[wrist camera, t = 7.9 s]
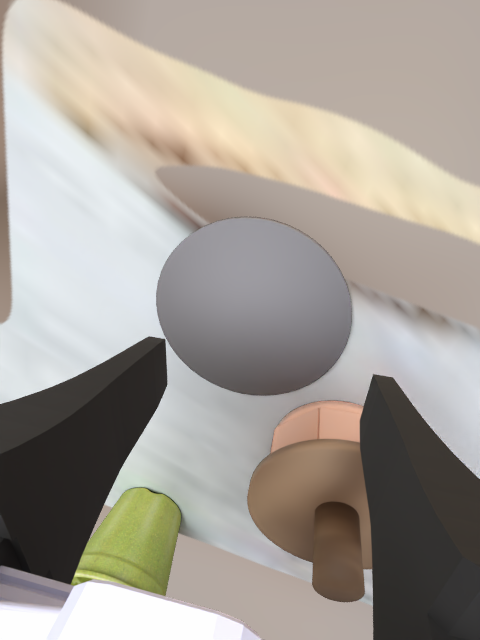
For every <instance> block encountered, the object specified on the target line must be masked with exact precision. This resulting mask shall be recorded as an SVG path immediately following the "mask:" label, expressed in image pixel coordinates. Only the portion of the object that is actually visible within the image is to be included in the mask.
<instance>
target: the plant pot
mask: <svg viewBox="0 0 480 640" xmlns="http://www.w3.org/2000/svg"><path fill="white" fill-rule="evenodd" d="M180 522H181V513H180V510H179V508H178V507H177V505H176V504H175V503H174V502H173V501H172V500H171V499H170V498H168V497H167V496H165V495H163V494H155V493H152V492H150V491H149V490H148V489H146V488H133V489H129V490H127V491H126V492H124V493H123V494H122V495H121V497H120V498H119V500H118V501H117V502H116V504H115V505H114V507H113V508H112V510H111V511H110V512H109V514H108V515H107V516H106V518H105V519H104V521H103V522H102V523H101V525H100V526H99V528H98V529H97V530H96V532H95V533H94V534H93V536H92V537H91V539H90V540H89V541H88V543H87V545H86V547H85V550H84V552H83V555H82V557H81V560H80V562H79V565H78V567H77V570H76V572H75V575H74V578H73V580H72V583H71V585H73V586H76V585H78V584H81V583H84V582H87V581H89V580H92V579H96V580H104V581H111V582H116V583H119V584H123V585H127V586H130V587H134V588H138V589H141V590H145V591H148V592H152V593H156V594H159V595H163V596H165V595H166V590H167V585H168V580H169V575H170V570H171V565H172V560H173V555H174V550H175V545H176V541H177V537H178V532H179V527H180Z"/></svg>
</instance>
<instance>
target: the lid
mask: <svg viewBox="0 0 480 640" xmlns="http://www.w3.org/2000/svg"><path fill="white" fill-rule="evenodd" d="M247 502H248V509H249V512H250V515H251V517H252V519H253V521H254V523H255V524H256V526H257V527H258V528H259V530H260V531H261V532H262V533H263V534H264V535H265V536H266V537H267V538H268V539H269V540H270V541H272V542H273V543H274V544H276V545H277V546H279V547H280V548H282V549H283V550H285V551H287V552H289V553H291V554H292V555H294V556H297V557H299V558H301V559H304V560H307V561H310V562H313V577H312V585H313V588H314V589H315V591H316V592H317V593H318V594H320V595H322V596H323V597H325V598H327V599H330V600H334V601H339V602H353V601H357V600H359V599H361V598H362V597H363V596H364V594H365V588H364V574H363V569H372V545H371V525H370V515H369V508H368V501H367V494H366V487H365V480H364V473H363V466H362V459H361V452H360V443H359V442H355V441H349V440H341V439H314V440H307V441H301V442H297V443H293V444H290V445H287V446H285V447H282V448H280V449H278V450H276V451H274V452H273V453H271V454H269V455H268V456H267V457H266V458H264V459H263V460H262V461H261V462H260V463H259V465H258V466H257V467H256V469H255V471H254V472H253V475H252V477H251V480H250V485H249V490H248V496H247Z"/></svg>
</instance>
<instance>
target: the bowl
mask: <svg viewBox="0 0 480 640" xmlns="http://www.w3.org/2000/svg"><path fill="white" fill-rule="evenodd" d="M363 407H364V406H361V405H358V404H354V403H350V402H344V401H319V402H313V403H309V404H306V405H303V406H301V407H298V408H296V409H294V410H293V411H291V412H290V413H288V414H287V415H286V416H285V417H284V418H283V419H282V420H281V421H280V423H279V424H278V426H277V427H276V428H275V430H274V436H273V441H272V447H271V453H273V452H274V451H276V450H278V449H280V448H282V447H285V446H287V445H290V444H293V443H297V442H301V441H307V440H314V439H341V440H349V441H355V442H359V443H360V418H361V414H362V411H363ZM271 453H270V454H271Z"/></svg>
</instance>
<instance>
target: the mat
mask: <svg viewBox="0 0 480 640" xmlns="http://www.w3.org/2000/svg"><path fill="white" fill-rule="evenodd" d="M156 305H157V313H158V318H159V321H160V325H161V328H162V330H163V333H164V335H165V337H166V339H167V341H168V342H169V344H170V346H171V347H172V349H173V350H174V351H175V353H176V354H177V355H178V357H179V358H180V359H181V360H182V361H183V362H184V363H185V364H186V365H187V366H188V367H189V368H190V369H192V370H193V371H194V372H195V373H197V374H198V375H200V376H201V377H203V378H204V379H206V380H208V381H209V382H211V383H213V384H215V385H218V386H220V387H222V388H225V389H228V390H231V391H234V392H239V393H243V394H250V395H277V394H282V393H287V392H291V391H294V390H297V389H300V388H302V387H304V386H307V385H309V384H310V383H312V382H314V381H315V380H317V379H319V378H320V377H321V376H322V375H324V374H325V373H326V372H327V371H328V370H329V369H330V368H331V367H332V366H333V365H334V364H335V362H336V361H337V360H338V358H339V357H340V355H341V354H342V352H343V350H344V348H345V346H346V343H347V340H348V337H349V334H350V328H351V322H352V308H351V301H350V294H349V291H348V287H347V284H346V281H345V279H344V277H343V275H342V273H341V271H340V269H339V267H338V266H337V264H336V263H335V261H334V260H333V258H332V257H331V256H330V255H329V254H328V253H327V251H326V250H325V249H324V248H323V247H322V246H321V245H319V244H318V243H317V242H316V241H315V240H313V239H312V238H311V237H309V236H308V235H306V234H305V233H303V232H302V231H300V230H298V229H296V228H294V227H292V226H290V225H287V224H284V223H281V222H278V221H275V220H271V219H265V218H260V217H235V218H228V219H224V220H219V221H216V222H213V223H211V224H208V225H206V226H204V227H202V228H200V229H198V230H197V231H195V232H193V233H192V234H191V235H190V236H188V237H187V238H186V239H184V240H183V241H182V242H181V243H180V244H179V245H178V246H177V247H176V248H175V249H174V250H173V252H172V253H171V255H170V256H169V258H168V259H167V261H166V263H165V265H164V267H163V269H162V271H161V274H160V277H159V280H158V286H157V292H156Z"/></svg>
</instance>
